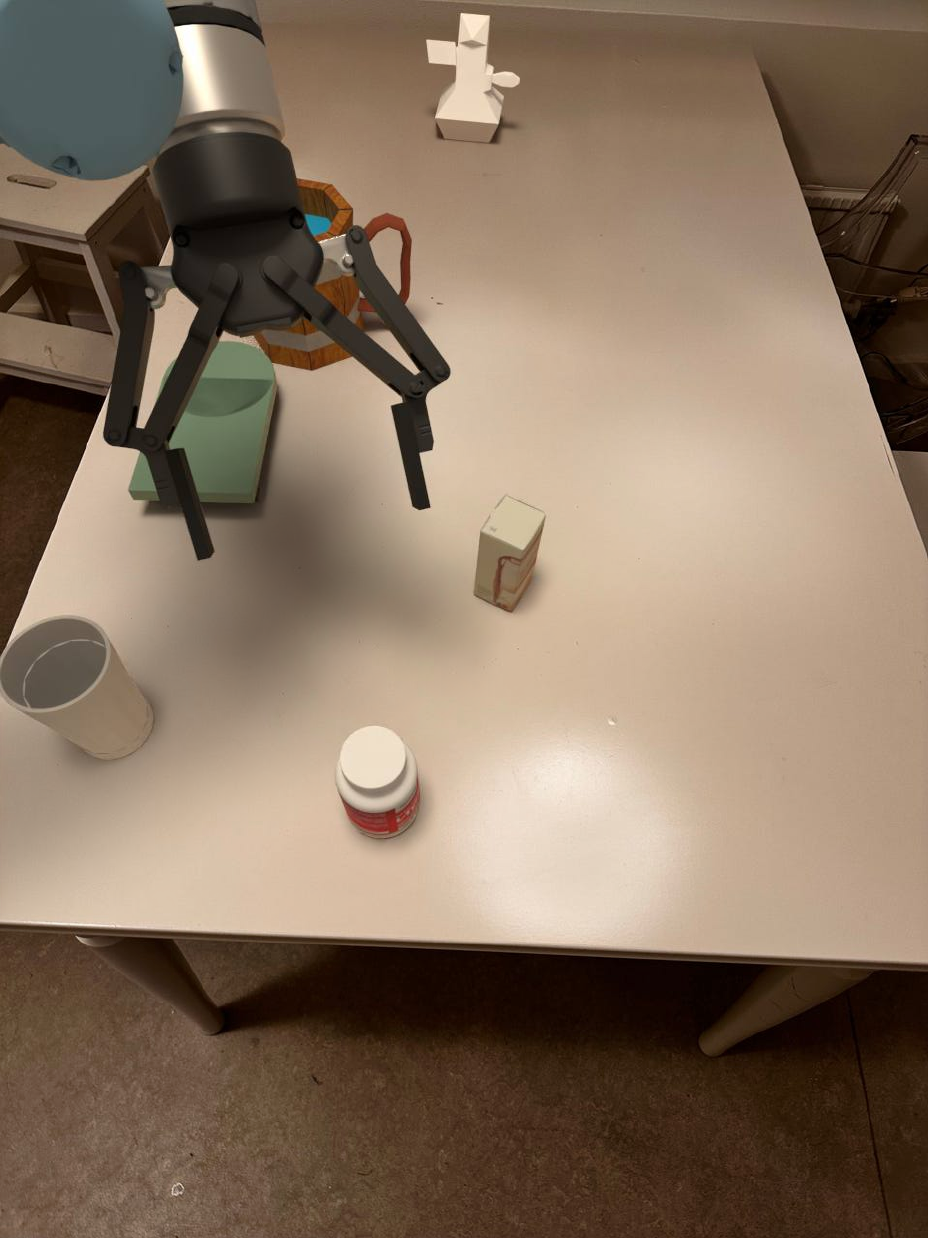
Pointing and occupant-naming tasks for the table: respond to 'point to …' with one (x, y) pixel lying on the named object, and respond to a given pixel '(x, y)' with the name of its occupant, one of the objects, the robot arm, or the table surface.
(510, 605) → the small juice carton
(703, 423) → the table surface
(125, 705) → the cup
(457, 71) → the white low-poly figurine
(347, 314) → the mug
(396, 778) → the pill bottle
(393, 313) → the robot arm
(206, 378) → the green rounded-end slab
